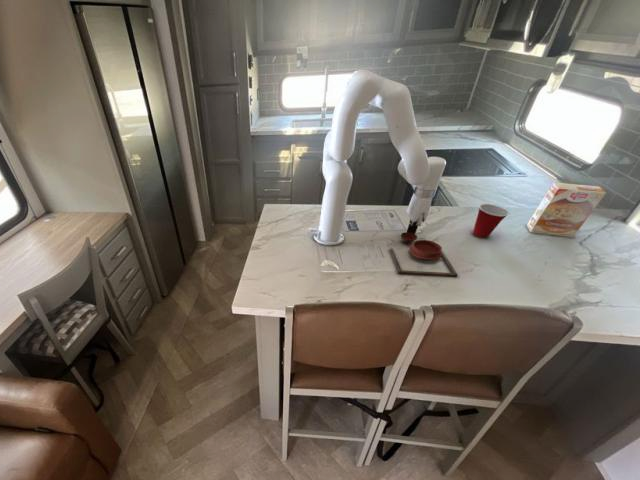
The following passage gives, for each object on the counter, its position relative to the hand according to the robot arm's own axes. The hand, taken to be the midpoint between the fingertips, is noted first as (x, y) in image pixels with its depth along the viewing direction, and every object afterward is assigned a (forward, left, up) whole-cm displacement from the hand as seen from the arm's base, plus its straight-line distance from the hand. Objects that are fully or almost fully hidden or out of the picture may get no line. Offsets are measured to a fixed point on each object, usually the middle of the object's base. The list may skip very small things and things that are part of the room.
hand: (410, 232), depth 136 cm
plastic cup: (+30, +4, -2) cm, 31 cm away
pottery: (0, -11, -2) cm, 11 cm away
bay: (-1, -20, -2) cm, 20 cm away
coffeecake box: (+59, +9, -2) cm, 60 cm away
